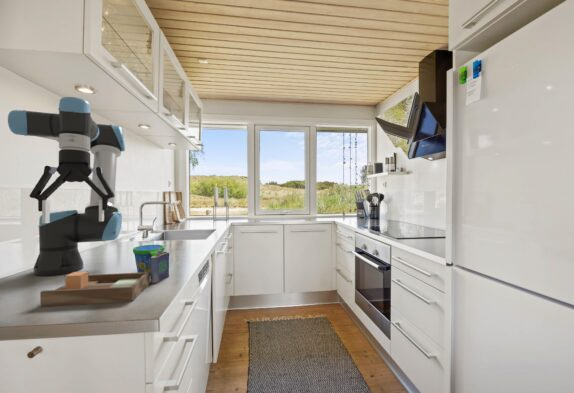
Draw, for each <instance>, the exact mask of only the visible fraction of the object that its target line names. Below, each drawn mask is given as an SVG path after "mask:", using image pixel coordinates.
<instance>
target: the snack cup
mask: <svg viewBox="0 0 574 393" xmlns="http://www.w3.org/2000/svg"><path fill="white" fill-rule="evenodd" d="M158 249H159V250H162V251H161V252H163V251H164V252H165V246H164V245H163V244H145V245H138V246H135V247H133V249H132V252H133V255H134V259H135V266H136V271H137V272H136V273H143V272H150V277H151V257H152V256H154V255H157V252H158ZM156 250H157V251H156Z"/></svg>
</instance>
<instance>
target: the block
mask: <svg viewBox="0 0 574 393" xmlns="http://www.w3.org/2000/svg"><path fill="white" fill-rule="evenodd" d="M88 275H89V272H88V271H74V272H70V273H68V274H66V275H65V277H64V278H65V281H64V282H65V283H64V285H65V286H66V289H82V288H83V287H85V286H87V285H88Z"/></svg>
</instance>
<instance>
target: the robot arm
mask: <svg viewBox="0 0 574 393" xmlns="http://www.w3.org/2000/svg"><path fill="white" fill-rule="evenodd" d="M57 110H58V113H54V112H53V113H51V112H40V111H31V110H25V109H23V110H21V109H20V110H19V109H18V110H17V109H15V110H11V111H9V113H8V115H7V125H8V128H9V130H10V132H12V133H13V135H19V136H24V137H25V136H27V137H28V136H29V137H39V138H43V139H49V140H53V141H56V142H57V143H58V148H59V149H60V150H58V166H55V167H54V166H49V165H45V166H44V169H43V172H42V175H41V177H40V178H39V180H38V182H37V183H36V184H35V186H34V187H33V190H32V191H31V192H30V194H29V197H30V198H31V199H35V200H37V203H38V204H37V210H38V212H41V215H40V216H39V222H38V232H39V233H38V241H39V242H38V244H39V246H38V247H39V249H38V250H39V253H38V256H37V257H36V261H35V263H34V266H33V269H32V270H33V275H34V276H38V277H39V276H40V277H49V276H59V275H64V274H71V273H73V272H79V271H80V270H82V269H84V260H83V258H82V256H81V252H80V251H79V243H95V242H103V243H105V242H107V241H108V242H109V241H114V240H117V238H119V235H120V232H121V228H122V223H123V222H122V221H123V220H122V219H123V214H122V212H120V211H119V208H118V207H117V206H115V199H116V197H115V196H116V180H117V178H116V177H117V162H118V161H117V160H118V158H119V157H120V156H121V154H122V152H125V151H126V144H125V139H124V138H125V137H124V131H123V129H122V127H121V126H119V125H116V124H115V125H113V124H101V123H97V122H96V121H95V120H93V118H92V117H91V112H92V110H91V104H90V102H89V101H87V100H86V99H84V98H80V97H75V96H63V97H62V98H60V99H59V104H58V109H57ZM90 152H91V153H90ZM91 154H92V155H93V165H92V167H91ZM56 172H57V173H58V176H57V178H55V180H54V181H53V182H52V183H51V184H50V185H49V186H47V184H48V183H49V181H50V179H51V178H52V176H53V175H55V173H56ZM91 174H92V177H91V178H90V175H91ZM66 182H69V183H75V182H78V183H83V182H85V183H86V185H88V186H89V187H90V188H91V190H90V199H89V204H88V205H87V206H86V207H85V208H84V212H83V213H80V212H79V211H78V209H72V210H62V211H55V212H51V211H50V210H51V209H50V204H51V203H50V202H51V201H50V200H49V199H48V198H49V197H50V196H51V195H52V194H54V193H55V192H56V191H57V190H58V188H60V187H61V186H62V185H63V184H65V183H66ZM46 186H47V188H46ZM45 188H46V189H45ZM47 199H48V200H47Z"/></svg>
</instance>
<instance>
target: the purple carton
mask: <svg viewBox="0 0 574 393" xmlns="http://www.w3.org/2000/svg"><path fill="white" fill-rule="evenodd" d="M156 251H157V250H156ZM161 251H162V250H159V249H158V252H157V255H154V256H152V257H151V276H150V285H152V284H154V285H155V284H157V283H158V284H159V283H160V282H161V281H164V280H166V279H168V278H169V277H170V252H168V251H165V250H164V251H163V252H161Z"/></svg>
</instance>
